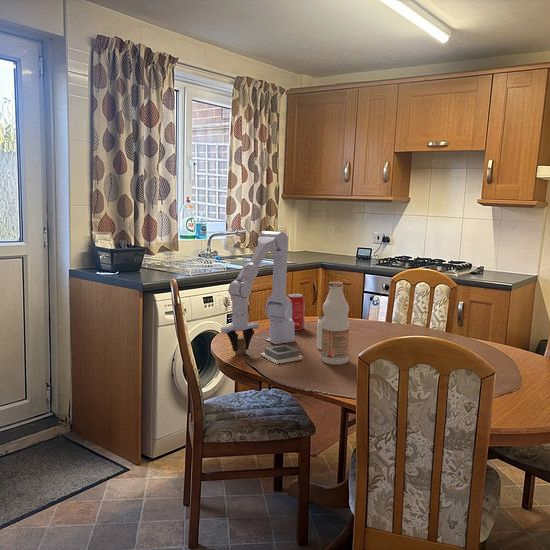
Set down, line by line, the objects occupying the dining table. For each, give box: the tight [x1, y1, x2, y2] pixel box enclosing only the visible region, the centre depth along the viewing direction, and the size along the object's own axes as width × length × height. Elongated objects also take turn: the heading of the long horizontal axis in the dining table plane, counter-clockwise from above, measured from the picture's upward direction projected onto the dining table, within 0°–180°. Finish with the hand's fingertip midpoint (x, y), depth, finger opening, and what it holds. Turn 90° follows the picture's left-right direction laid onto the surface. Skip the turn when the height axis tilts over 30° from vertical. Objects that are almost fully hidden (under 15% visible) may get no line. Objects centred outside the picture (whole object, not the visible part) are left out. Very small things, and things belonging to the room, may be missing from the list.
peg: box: [234, 336, 247, 357], centre depth 196 cm, size 4×4×6 cm
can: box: [316, 315, 324, 351], centre depth 203 cm, size 6×6×12 cm
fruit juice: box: [321, 281, 350, 366], centre depth 187 cm, size 9×9×28 cm
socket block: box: [260, 344, 304, 365], centre depth 193 cm, size 11×11×3 cm
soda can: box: [287, 293, 306, 332], centre depth 232 cm, size 8×8×15 cm
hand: (240, 349), depth 197 cm, fingers closed on peg, 4 cm apart
